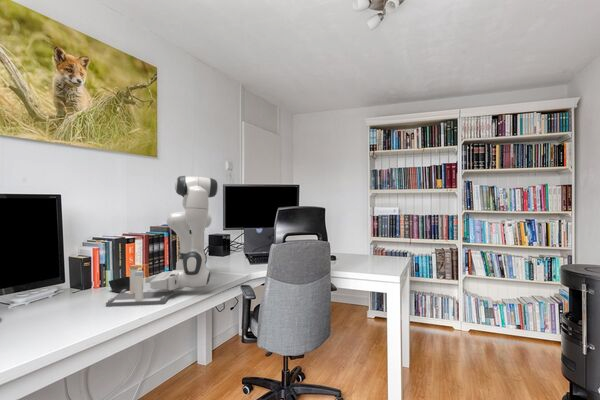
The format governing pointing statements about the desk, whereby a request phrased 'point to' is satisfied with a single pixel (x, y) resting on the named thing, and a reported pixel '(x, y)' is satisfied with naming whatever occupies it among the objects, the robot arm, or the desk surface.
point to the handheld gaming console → (120, 284)
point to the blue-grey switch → (139, 285)
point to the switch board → (148, 298)
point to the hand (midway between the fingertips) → (146, 280)
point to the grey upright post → (132, 277)
